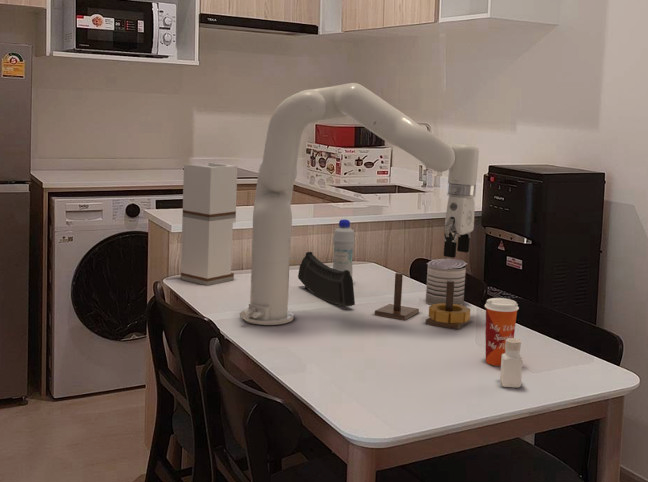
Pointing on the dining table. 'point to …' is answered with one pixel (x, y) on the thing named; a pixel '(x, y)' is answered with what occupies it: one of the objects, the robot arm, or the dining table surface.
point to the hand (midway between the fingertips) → (456, 254)
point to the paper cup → (499, 327)
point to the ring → (449, 313)
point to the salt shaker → (511, 364)
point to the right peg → (448, 309)
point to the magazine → (326, 281)
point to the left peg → (397, 304)
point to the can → (445, 280)
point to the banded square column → (208, 222)
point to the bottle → (343, 247)
